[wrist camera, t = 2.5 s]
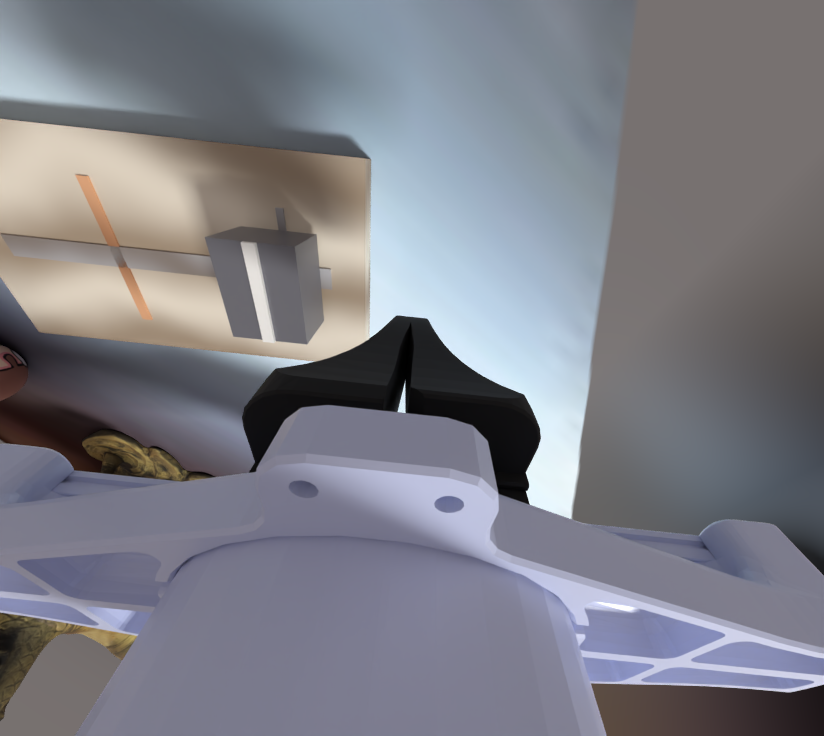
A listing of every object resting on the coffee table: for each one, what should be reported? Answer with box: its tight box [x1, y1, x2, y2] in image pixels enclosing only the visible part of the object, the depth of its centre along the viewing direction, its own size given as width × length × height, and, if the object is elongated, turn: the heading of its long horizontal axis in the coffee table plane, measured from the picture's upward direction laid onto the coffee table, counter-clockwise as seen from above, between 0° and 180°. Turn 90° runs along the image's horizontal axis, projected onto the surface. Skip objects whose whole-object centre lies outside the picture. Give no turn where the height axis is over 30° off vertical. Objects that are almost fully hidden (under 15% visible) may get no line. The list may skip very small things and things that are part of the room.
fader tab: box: [205, 226, 324, 344], centre depth 16 cm, size 5×4×3 cm
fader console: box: [0, 119, 371, 361], centre depth 18 cm, size 12×23×2 cm, turn 85°
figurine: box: [0, 429, 214, 721], centre depth 27 cm, size 13×25×20 cm, turn 20°
